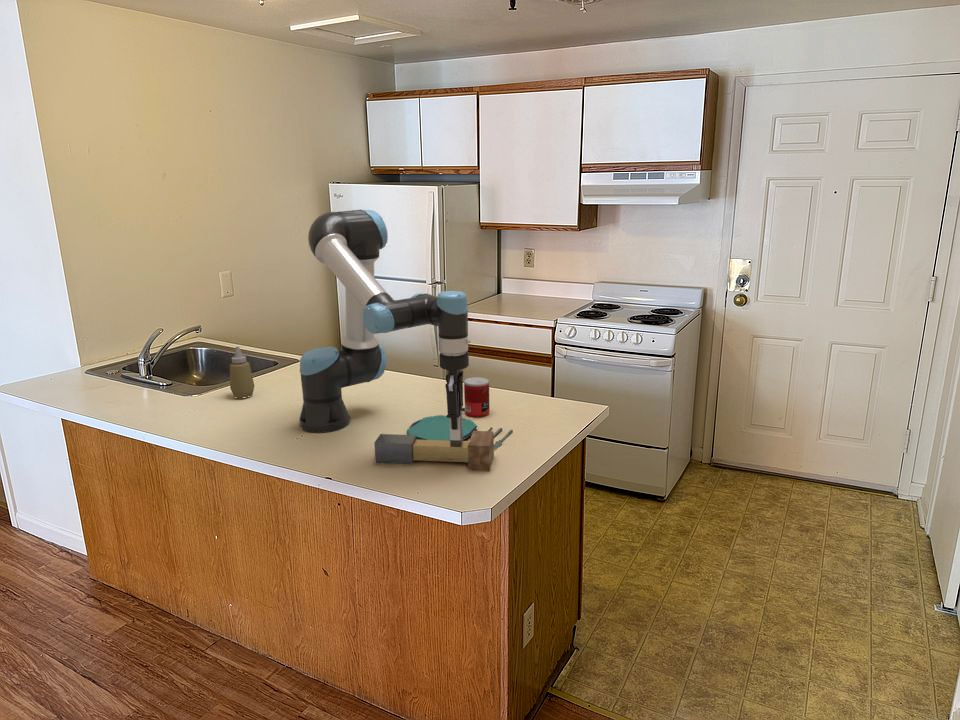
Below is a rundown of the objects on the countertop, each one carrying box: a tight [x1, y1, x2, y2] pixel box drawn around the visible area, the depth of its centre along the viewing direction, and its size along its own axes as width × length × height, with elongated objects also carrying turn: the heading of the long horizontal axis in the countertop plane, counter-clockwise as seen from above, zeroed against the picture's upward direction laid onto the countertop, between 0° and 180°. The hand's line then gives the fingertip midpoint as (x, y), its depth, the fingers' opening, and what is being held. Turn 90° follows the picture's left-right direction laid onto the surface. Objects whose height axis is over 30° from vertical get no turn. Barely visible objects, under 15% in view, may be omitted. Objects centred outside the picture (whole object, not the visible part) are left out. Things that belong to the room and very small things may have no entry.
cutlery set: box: [406, 414, 513, 452], centre depth 201 cm, size 20×30×2 cm, turn 65°
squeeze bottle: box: [229, 346, 255, 399], centre depth 237 cm, size 8×8×18 cm
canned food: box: [463, 377, 490, 418], centre depth 217 cm, size 8×8×11 cm
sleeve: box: [374, 433, 417, 466], centre depth 185 cm, size 10×6×6 cm, turn 82°
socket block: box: [467, 430, 495, 472], centre depth 182 cm, size 6×10×7 cm, turn 172°
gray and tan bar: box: [412, 407, 470, 463], centre depth 182 cm, size 22×4×14 cm, turn 82°
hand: (456, 437), depth 181 cm, fingers closed on gray and tan bar, 2 cm apart
